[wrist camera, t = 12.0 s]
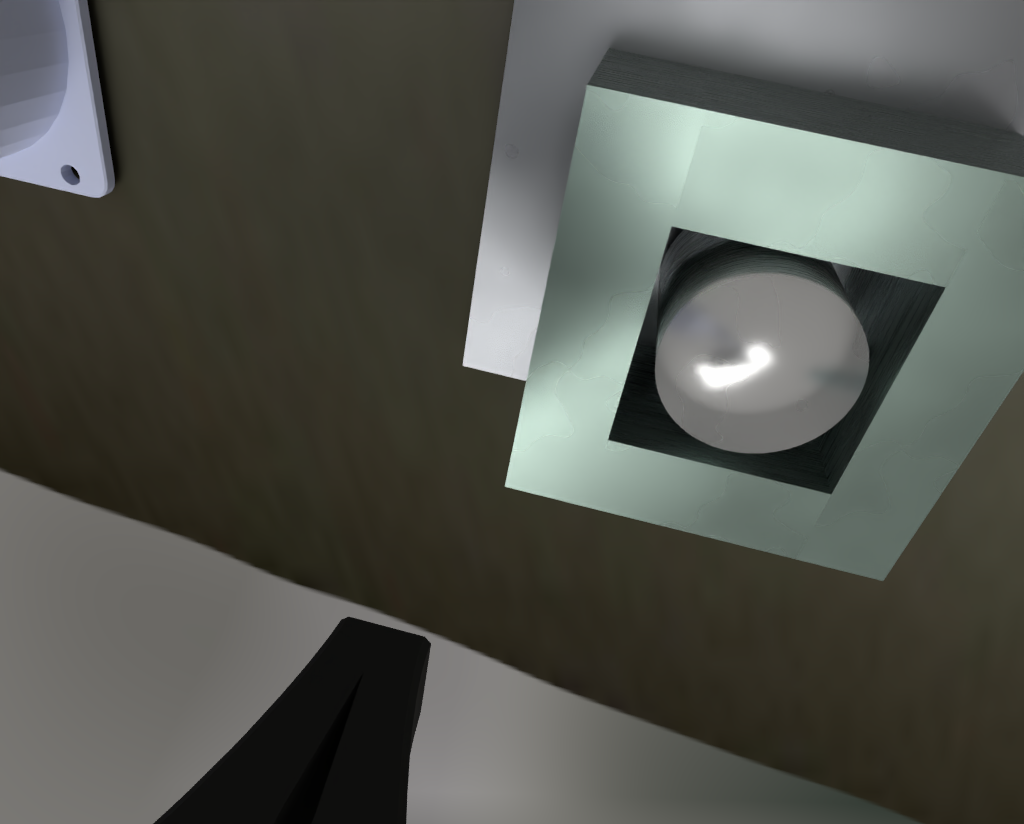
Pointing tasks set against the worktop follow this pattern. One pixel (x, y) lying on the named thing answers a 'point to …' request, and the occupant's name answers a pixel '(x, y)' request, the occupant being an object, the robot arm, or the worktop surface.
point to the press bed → (764, 222)
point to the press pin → (754, 344)
